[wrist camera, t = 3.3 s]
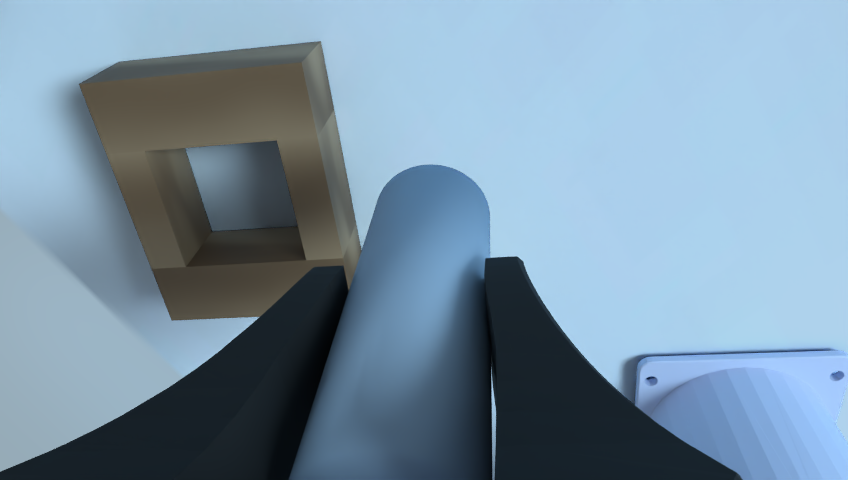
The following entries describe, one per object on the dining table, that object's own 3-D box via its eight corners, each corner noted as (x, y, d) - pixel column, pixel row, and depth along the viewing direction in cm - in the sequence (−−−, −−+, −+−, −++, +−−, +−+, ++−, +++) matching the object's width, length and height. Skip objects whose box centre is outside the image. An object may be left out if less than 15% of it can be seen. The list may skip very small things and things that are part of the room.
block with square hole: (365, 273, 25) (354, 312, 23) (197, 282, 26) (171, 320, 24) (320, 41, 21) (301, 62, 18) (119, 61, 22) (79, 84, 19)
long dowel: (493, 262, 16) (498, 590, 9) (384, 267, 17) (305, 587, 9) (485, 160, 15) (485, 449, 8) (367, 169, 15) (258, 453, 8)
